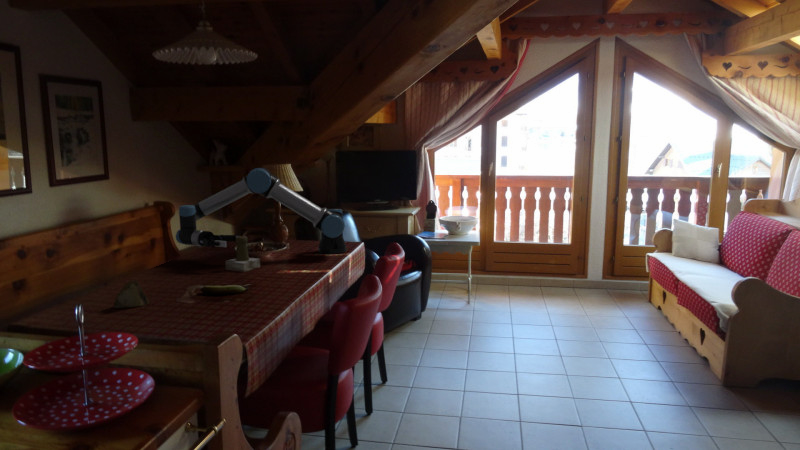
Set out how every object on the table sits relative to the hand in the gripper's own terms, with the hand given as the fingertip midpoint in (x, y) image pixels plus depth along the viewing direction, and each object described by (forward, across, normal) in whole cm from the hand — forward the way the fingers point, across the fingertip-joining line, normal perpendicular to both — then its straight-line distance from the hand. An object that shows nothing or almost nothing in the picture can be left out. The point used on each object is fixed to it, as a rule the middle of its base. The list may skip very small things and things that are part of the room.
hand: (236, 241), depth 253 cm
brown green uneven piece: (+26, +35, -13) cm, 46 cm away
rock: (+8, +63, -13) cm, 65 cm away
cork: (+2, -1, -9) cm, 9 cm away
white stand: (+3, 0, -12) cm, 13 cm away
